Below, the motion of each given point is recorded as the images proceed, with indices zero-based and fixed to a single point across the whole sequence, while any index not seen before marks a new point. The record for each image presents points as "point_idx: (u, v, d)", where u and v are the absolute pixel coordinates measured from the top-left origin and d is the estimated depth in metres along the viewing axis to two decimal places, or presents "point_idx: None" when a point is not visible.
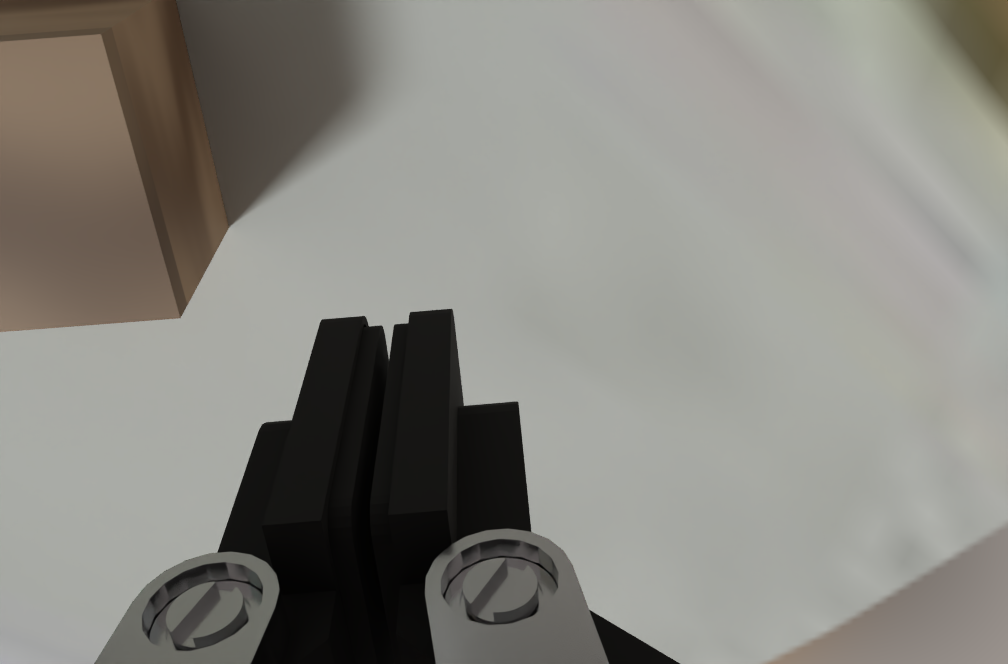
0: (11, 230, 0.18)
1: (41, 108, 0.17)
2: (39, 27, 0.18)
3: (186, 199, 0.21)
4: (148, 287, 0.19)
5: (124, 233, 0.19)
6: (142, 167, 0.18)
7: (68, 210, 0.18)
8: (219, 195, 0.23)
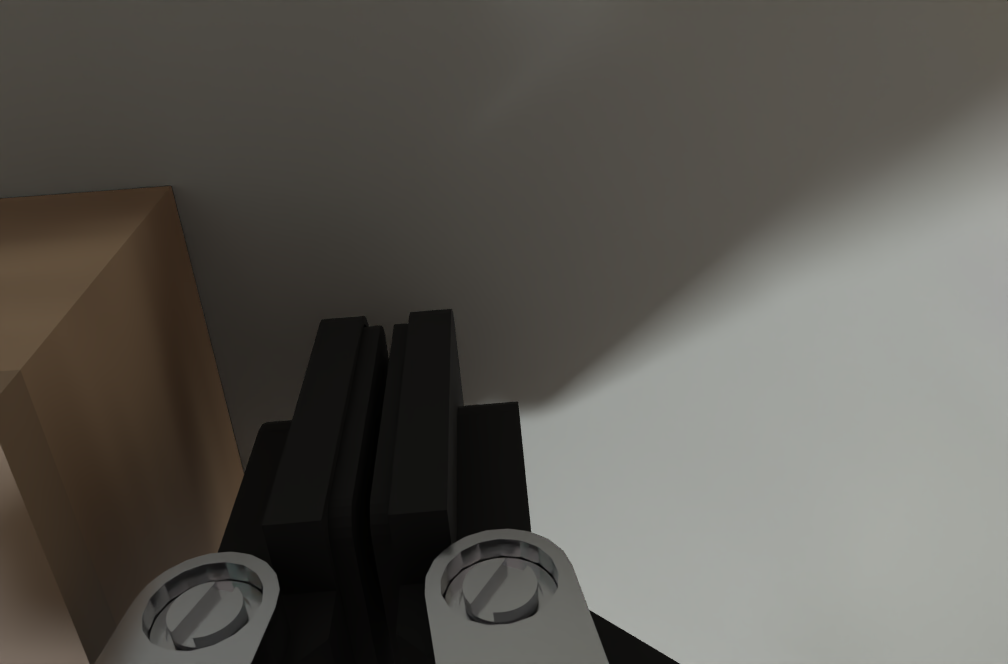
0: None
1: None
2: None
3: None
4: None
5: None
6: (94, 637, 0.08)
7: None
8: None
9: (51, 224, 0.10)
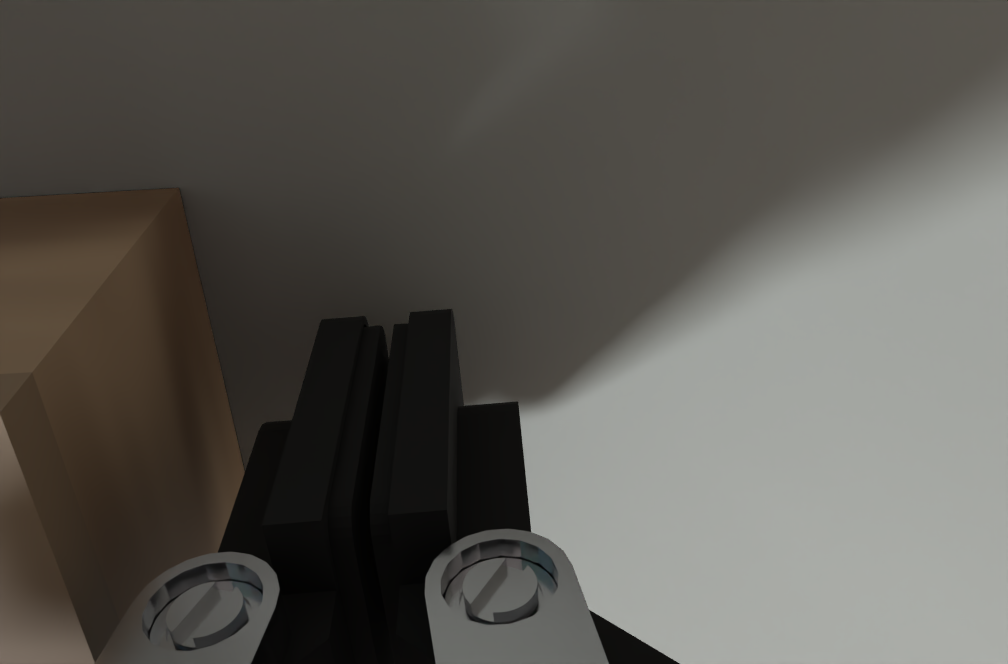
0: None
1: None
2: None
3: None
4: None
5: None
6: (100, 637, 0.08)
7: None
8: None
9: (59, 224, 0.10)
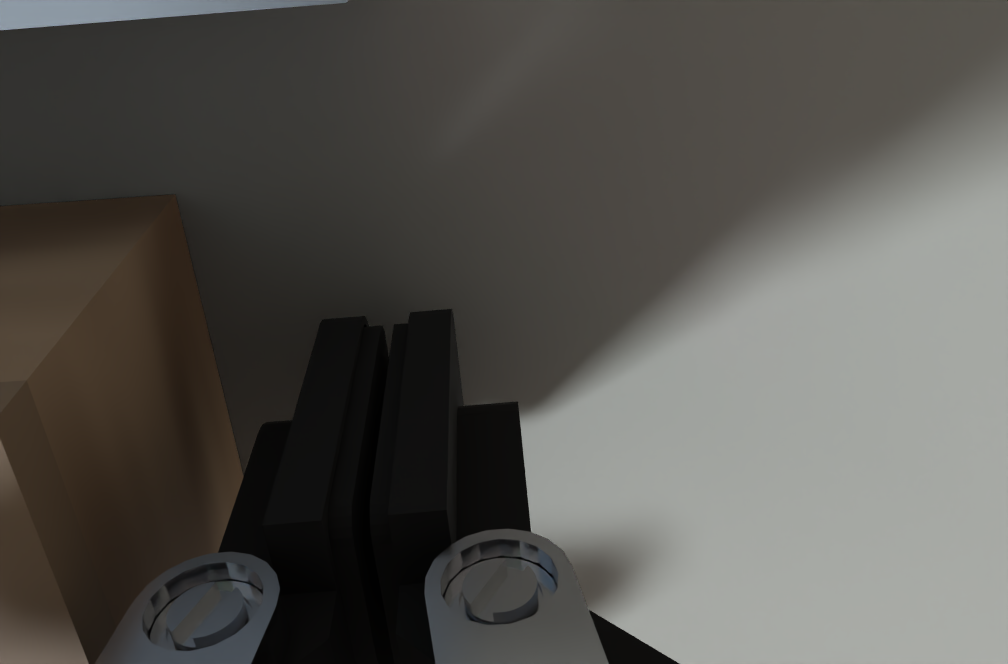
0: None
1: None
2: None
3: None
4: None
5: None
6: (97, 647, 0.08)
7: None
8: None
9: (55, 232, 0.10)
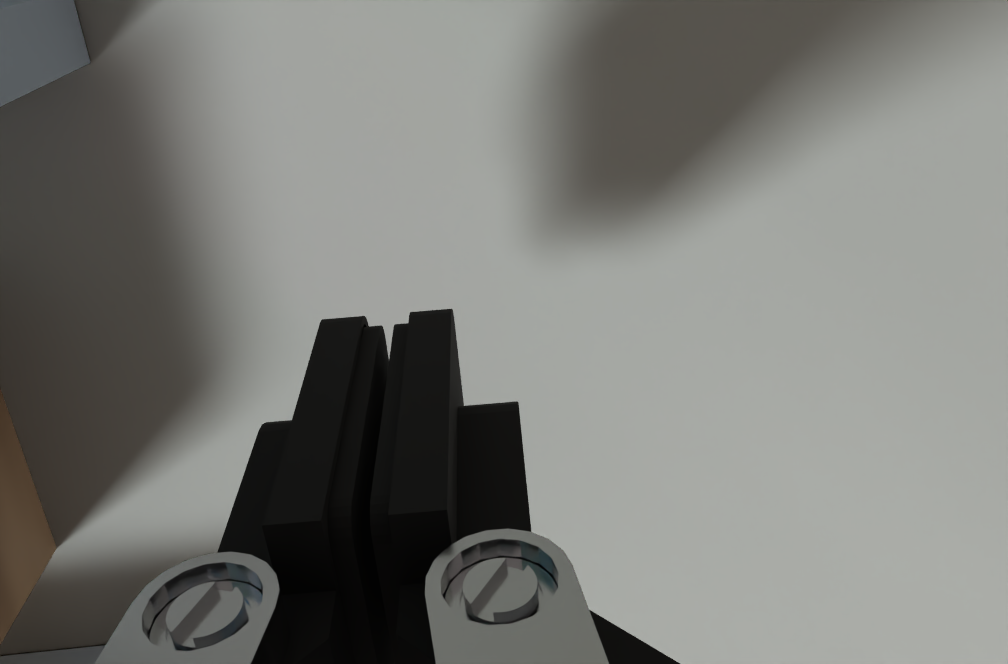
0: None
1: None
2: None
3: None
4: None
5: None
6: None
7: None
8: (38, 511, 0.16)
9: None
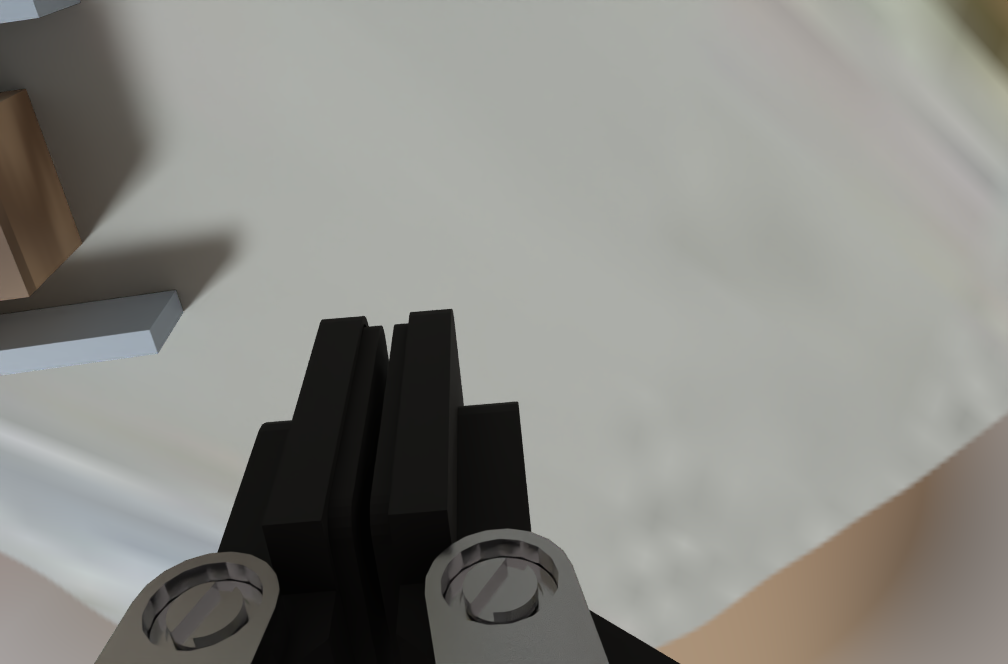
0: None
1: None
2: None
3: (36, 223, 0.32)
4: (6, 277, 0.31)
5: None
6: None
7: None
8: (72, 221, 0.35)
9: None
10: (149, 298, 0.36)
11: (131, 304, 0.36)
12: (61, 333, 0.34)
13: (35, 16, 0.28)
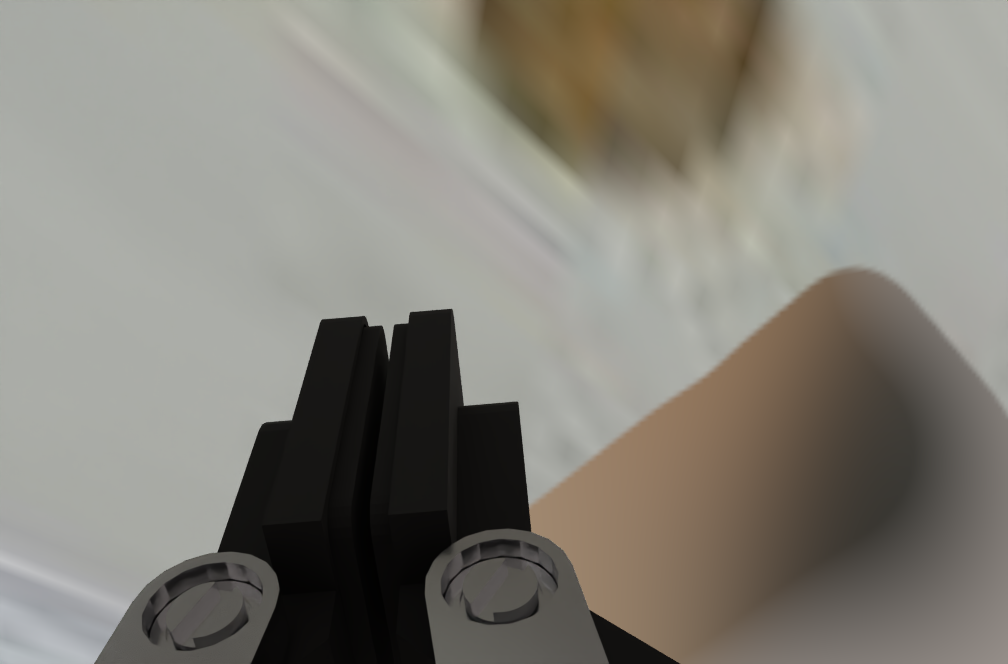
0: None
1: None
2: None
3: None
4: None
5: None
6: None
7: None
8: None
9: None
10: None
11: None
12: None
13: None
